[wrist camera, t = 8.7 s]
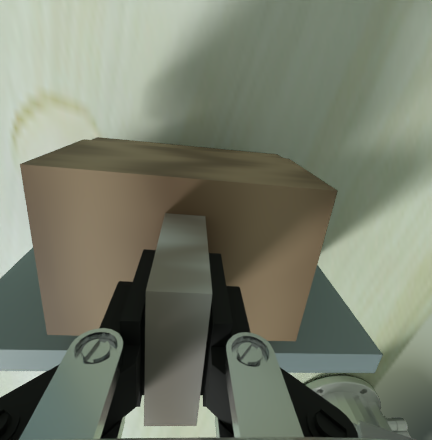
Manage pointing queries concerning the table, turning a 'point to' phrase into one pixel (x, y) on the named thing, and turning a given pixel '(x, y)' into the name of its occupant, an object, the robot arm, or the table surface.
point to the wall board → (284, 350)
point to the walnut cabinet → (173, 247)
